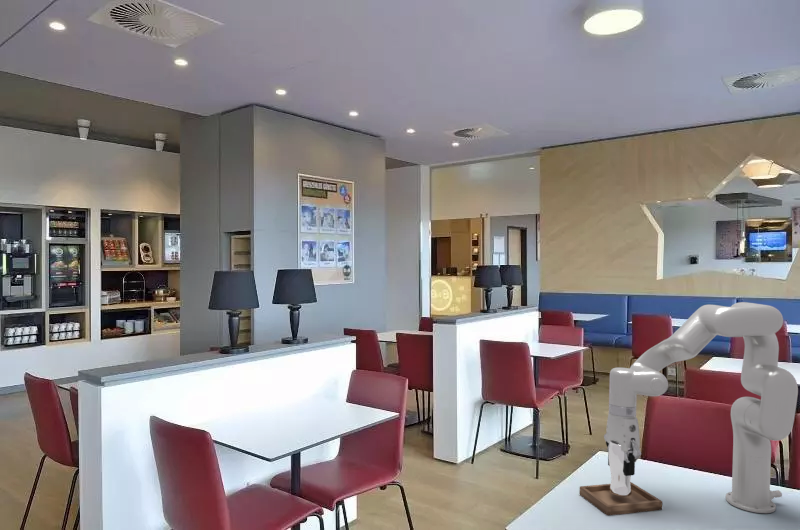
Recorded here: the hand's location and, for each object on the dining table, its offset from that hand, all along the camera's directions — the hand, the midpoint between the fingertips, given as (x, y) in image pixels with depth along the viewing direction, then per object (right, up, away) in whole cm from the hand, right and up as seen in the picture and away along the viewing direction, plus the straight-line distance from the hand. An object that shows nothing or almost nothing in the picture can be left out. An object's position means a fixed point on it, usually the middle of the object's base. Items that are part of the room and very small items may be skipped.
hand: (620, 469), depth 164 cm
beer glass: (0, -7, 0) cm, 7 cm away
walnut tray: (0, -10, 0) cm, 10 cm away
